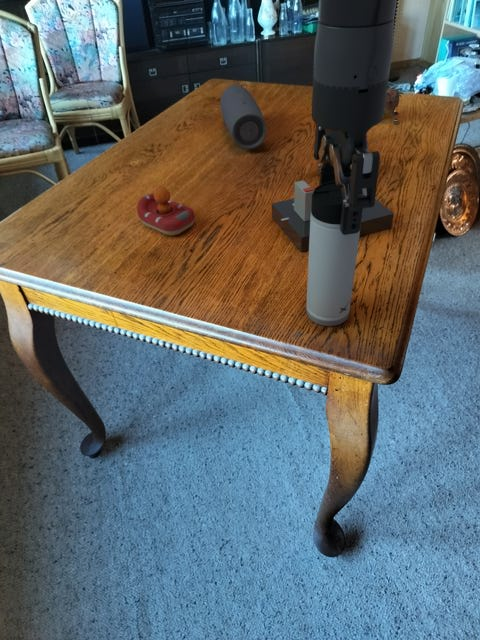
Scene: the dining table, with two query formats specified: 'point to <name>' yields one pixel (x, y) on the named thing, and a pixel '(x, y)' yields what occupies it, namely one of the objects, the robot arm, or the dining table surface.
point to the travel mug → (329, 258)
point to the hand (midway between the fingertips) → (337, 214)
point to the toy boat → (164, 213)
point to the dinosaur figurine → (392, 102)
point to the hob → (300, 230)
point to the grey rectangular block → (303, 199)
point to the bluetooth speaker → (243, 117)
